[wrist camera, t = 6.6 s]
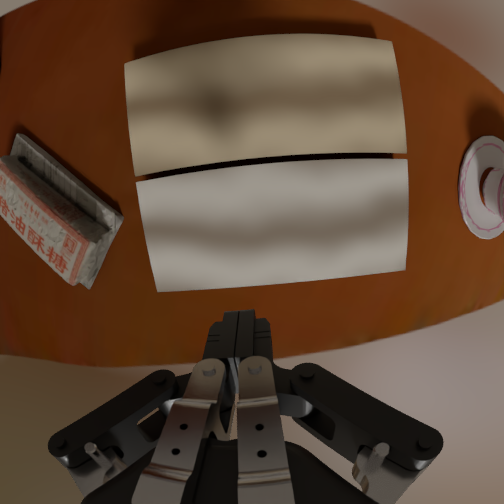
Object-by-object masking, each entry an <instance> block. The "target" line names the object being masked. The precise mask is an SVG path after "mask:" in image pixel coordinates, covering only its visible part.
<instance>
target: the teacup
mask: <svg viewBox="0 0 504 504" xmlns="http://www.w3.org/2000/svg"><path fill="white" fill-rule="evenodd" d="M489 167H493V168H494V169H493V170H491V171H490V173H489V174H488V176H487V178H486V179H485V181H484V184H483V196H484V201H485V205H486V206H484V205H483V203H482V201H481V199H480V195H479V183H480V179H481V176H482V174H483V172H484V170H486V169H487V168H489ZM458 193H459V206H460V209H461V213H462V216H463V220H464V221H465V223H466V225H467V227H468V228H469V230H470V231H471V232H472V233H474V234H475V235H476V236H478V237H479V238H484V239H491V238H494V237H496V236H498V235H500V234H501V233H502V232H503V231H504V142H503V141H502V140H501V139H499V138H497V137H495V136H482V137H480V138H479V139H477V140H476V141H474V142H473V143H472V144H471V146H470V147H469V149H468V150H467V152H466V153H465V156H464V159H463V162H462V165H461V168H460V175H459V183H458Z"/></svg>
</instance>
